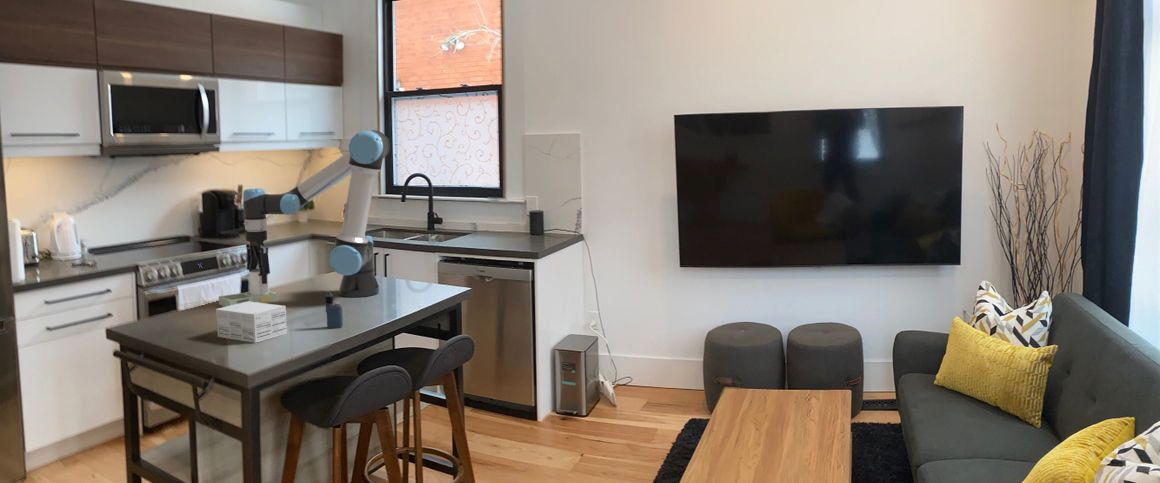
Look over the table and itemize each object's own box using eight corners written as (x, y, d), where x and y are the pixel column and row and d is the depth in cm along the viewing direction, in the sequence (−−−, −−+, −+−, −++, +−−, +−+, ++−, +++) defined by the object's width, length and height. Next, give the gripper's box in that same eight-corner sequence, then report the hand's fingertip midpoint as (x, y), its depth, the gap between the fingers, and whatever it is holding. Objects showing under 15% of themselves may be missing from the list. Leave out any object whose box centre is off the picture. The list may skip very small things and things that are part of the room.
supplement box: (288, 333, 261) (286, 305, 259) (255, 343, 249) (253, 314, 247) (250, 327, 268) (248, 300, 267) (217, 337, 256) (215, 308, 255)
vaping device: (327, 326, 269) (325, 291, 267) (343, 326, 270) (342, 290, 268) (325, 328, 267) (324, 292, 265) (342, 328, 267) (340, 292, 265)
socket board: (278, 301, 305) (278, 293, 305) (230, 309, 293) (229, 300, 292) (266, 297, 313) (266, 289, 312) (219, 304, 300) (218, 296, 299)
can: (272, 299, 309) (270, 268, 307) (264, 303, 302) (262, 272, 300) (256, 299, 309) (254, 268, 307) (247, 303, 303) (245, 271, 301)
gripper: (234, 228, 306) (238, 288, 309) (257, 233, 292) (261, 296, 296) (254, 226, 311) (257, 285, 315) (277, 231, 297) (281, 293, 301)
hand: (259, 290), depth 305 cm, fingers open, 7 cm apart
